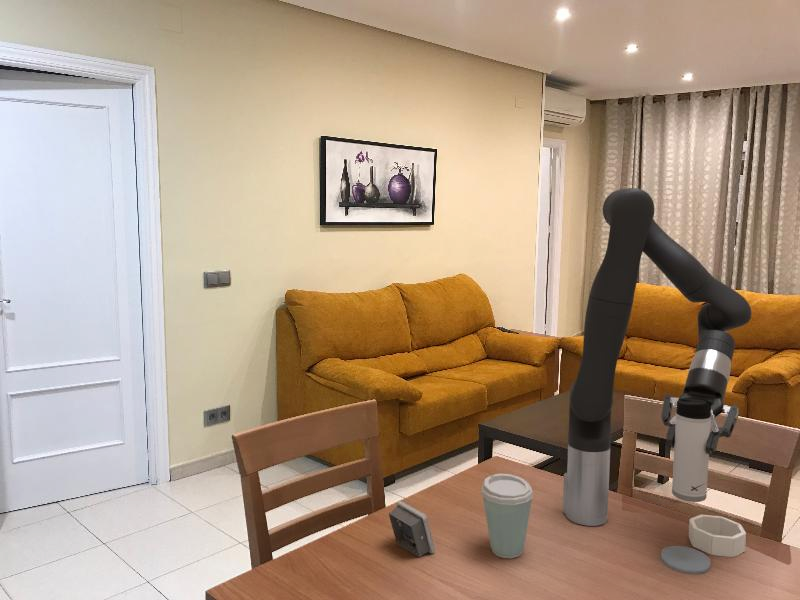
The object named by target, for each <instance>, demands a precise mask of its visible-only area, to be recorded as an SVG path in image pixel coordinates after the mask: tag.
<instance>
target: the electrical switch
mask: <svg viewBox="0 0 800 600" xmlns="http://www.w3.org/2000/svg"><path fill="white" fill-rule="evenodd" d="M395 505H396V507H394V508H393V509H392V510H391V511H390V512H388V517H389V520H390V524H391V528H392V530H393V536H394V538H395V542H396V544H398V545H399V546H401V547H402V546H403V547H402V548H404V549H405V550H406V551H408V552H409V553H411V554H413V555H414V556H416V557H417V558H421V557H422V556H424V555H425V554H427V553H429V554H431V555H432V554H434V553H435V551H436V547H435V544H434V543H435V542H434V539H433V536H432V531H431V528H430V524H429V519H428V517H427V515H426V514H425V513H424V512H422V511H419V510H418V509H416V508H414V507H412V506H411V505H409V504H407V503H405V502H404V501H402V500H398V501H397V502H395Z"/></svg>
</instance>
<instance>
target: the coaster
mask: <svg viewBox="0 0 800 600" xmlns="http://www.w3.org/2000/svg"><path fill="white" fill-rule="evenodd" d="M660 556H661V557H660V558H661V562H662V563H663V564H664V565H665V566H666V567H668V568H669V569H672V570H674V571H676V572H680V573H683V574H689V575H701V574H705V573H707V572H709V571H710V569H711V560H710V557H708V556H707V554H705V553H703V552H702V551H701V550H699V549H698V550H697V549H695V548H692V547H688V546H683V545H670V546H666V547H664V548H663V549H662V550H661V552H660Z"/></svg>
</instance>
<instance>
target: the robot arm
mask: <svg viewBox="0 0 800 600" xmlns="http://www.w3.org/2000/svg"><path fill="white" fill-rule="evenodd" d="M602 216H603V219H604V221H605V222H606V223H607V224H608V226H609V233H608V240H607V246H606V251H605V254H604V257H603V260H602V261H601V264H600V266H599V269H598V271H597V272H596V275H595V276H594V279H593V281H592V284H591V287H590V291H589V295H588V299H587V306H586V310H585V317H584V318H585V319H584V326H583V327H584V328H583V341H582V342H583V343H582V345H583V346H582V356H581V361H580V366H579V369H578V373H577V376H576V379H574V381H573V382H572V383H571V385H570V388H569V389H570V390H569V409H568V410H569V411H568V413H569V414H568V415H569V416H568V417H569V418H568V435H567V436H568V438H567V439H568V441H567V465H566V466H567V468H566V469H567V470H566V472H565V473H564V474H563V484H562V485H563V489H562V490H563V491H562V513H563V514H565V516H566V517H567V520H569V521H571V522H572V523H575V524H578V525H583V526H587V527H596V526H602V525H604V524H606V523H607V522H608V509H609V508H608V507H609V492H610V491H609V490H610V489H609V487H610V486H609V485H610V462H611V459H610V458H611V440H612V437H611V436H612V430H611V429H612V427H611V425H612V423H611V421H612V420H611V419H612V407H613V403H614V388H615V387H614V385H615V377H616V376H615V375H616V369H617V364H618V360H619V355H620V354H621V350H622V348H623V344H624V341H625V337H626V334H627V331H628V326H629V323H630V319H631V315H632V308H633V305H634V299H635V298H634V297H635V292H636V287H637V283H638V277H639V271H640V264H641V258H642V255H643V253H644V254H645V256H647V257H648V258H649V259H650V260H651V261H652V262H653V264H655V266H656V267H657V268H658V269H659V271H660V272H662V274H663V275H664V277H666V278H667V279H668V281H670V282H671V283H672V284H673V286H674V287H675V288H676V289H677V290H678V291H679V292H680V293H681V294H682V296H684V297H685V299H687V300H688V301H689V302H691V303H705V304H704V305H703V306H701V308H700V310H699V311H698V313H697V333H698V335H697V336H698V341H697V346H696V349H695V353H694V356H693V358H692V360H691V363H690V366H689V368H688V374H687V377H686V380H685V384H684V388H683V392H682V394H680V395H679V397H672V396H671V395H670V394H665V395H664V397H663V405H662V412H661V420H662V423H663V426H665V427H666V426H667V427H668V429H667V433H666V437H665V438H666V441H667V443H668V445H669V446H670V447H674V442H675V423H676V414H674V416H673V417H672V418H671V416H672V410H673V409H675V407H677V401H679V400H681V399H682V398H691V397H698V398H706V399H710V400H714V404H713V405H712V406H711V419H710V420H711V428H710V434H709V438H708V442H707V446H706V452H707V454H709V455H712V453H715V452H716V451H717V447H718V442H719V439H720V438H722V437H726V438H730V437H731V436H732V433H733V431H734V428H735V426H736V423H737V420H738V418H739V416H740V413H739V408H738V406H737V405H731V406H729V405H725V404H724V400H725V395H726V392H727V387H728V384H729V381H730V375H731V367H732V366H731V364H732V361H733V356H734V353H735V347H736V340H735V339H734V337H733V335H731V334H730V333H729V332H727V331H730V330H733V329H736V328H740V327H743V326H745V325H747V324H748V323H749V322H750V321H751V320H752V307H751V305H750V303H749V302H748V301H747V299H746V298H745V297H744V296H743V295H742V294H740V293H739V292H737V291H736V290H735V289H733V288H731V287H730V286H728V285H726V284H725V283H723V282H722V281H721V280H718V279H716V278H715V277H714V276H713V275H712V274H711V273H710V271H708V270H707V268H705V266H704V265H703V264H702V263H701V262H700V261H699V260H698V259H697V258H696V257H695V256H694V255H693V254H692V253H690V252H689V251H688V250H687V249H686V248H684V247H683V246H682V245H680V244H679V243H678V242H677V241H675V240H674V239H673V238H672V237H671V236H670V235H668V234H667V233H666V232H665V230H663V229H662V228H661V227H660V226H659V224H658V223H657V222H656V221H655V219H654V216H655V204H654V200H653V198H652V197H651V195H650V194H649V193H648V191H645V190H644V189H642V188H638V187H637V188H636V187H635V188H633V187H632V188H621V189H620V188H619V189H617V190H614V191H613V192H611V193H609V195H608V196H606V198H605V200H604V202H603V204H602ZM723 412H724V413H725V417H726V419H725V421H724V423H723V426H721V427H718V423H717V421H716V417H718V416H720V415H721V414H722V413H723Z"/></svg>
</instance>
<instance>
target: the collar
mask: <svg viewBox="0 0 800 600" xmlns="http://www.w3.org/2000/svg"><path fill="white" fill-rule="evenodd" d="M688 539H689V542H690V543H691V546H692V547H694V549H695V548H696V549H698V550H699V551H701V552H702V551H703V552H704V553H707V554H708V555H710V556H718V557H727V558H735V557H737V556H739V555H741V554H744V553H745V552H746V543H747V541H746V540H747V532H746V531H745V529H744V528H743V525H741V523H739V522H737V521H734V520H731V519H730V518H726V517H725V516H720V515H709V514H699V515H697V516H694V517H691V518H689V523H688ZM743 552H744V553H743Z"/></svg>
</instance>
